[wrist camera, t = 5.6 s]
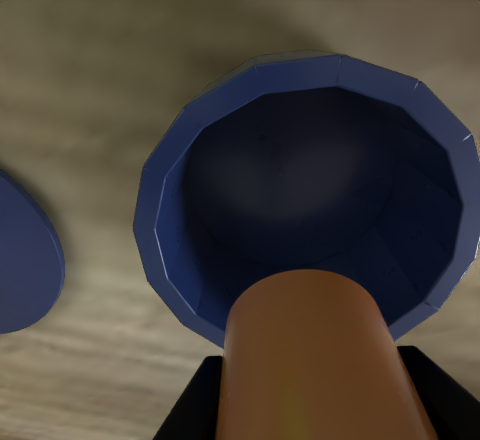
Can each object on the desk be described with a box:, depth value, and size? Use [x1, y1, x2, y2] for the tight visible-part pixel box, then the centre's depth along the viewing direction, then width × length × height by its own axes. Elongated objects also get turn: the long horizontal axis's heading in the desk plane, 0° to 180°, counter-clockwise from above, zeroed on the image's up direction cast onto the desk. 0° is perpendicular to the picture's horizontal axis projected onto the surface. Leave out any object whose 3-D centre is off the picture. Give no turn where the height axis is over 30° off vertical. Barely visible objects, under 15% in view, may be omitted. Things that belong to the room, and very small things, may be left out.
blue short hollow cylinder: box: [133, 50, 480, 349], centre depth 15 cm, size 12×12×6 cm
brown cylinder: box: [215, 269, 439, 440], centre depth 7 cm, size 4×4×4 cm
